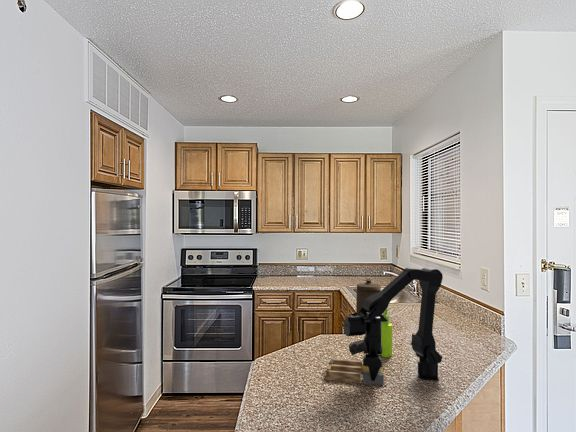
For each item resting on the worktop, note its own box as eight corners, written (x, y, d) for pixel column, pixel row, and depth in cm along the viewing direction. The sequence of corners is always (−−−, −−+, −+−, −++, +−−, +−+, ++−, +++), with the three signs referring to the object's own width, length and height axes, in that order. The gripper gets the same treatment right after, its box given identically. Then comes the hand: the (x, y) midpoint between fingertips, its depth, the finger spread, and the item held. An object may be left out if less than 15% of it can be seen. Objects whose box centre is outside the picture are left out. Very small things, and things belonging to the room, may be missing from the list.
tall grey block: (382, 381, 147) (382, 372, 147) (383, 384, 144) (383, 375, 144) (362, 380, 148) (362, 371, 148) (363, 383, 145) (363, 374, 145)
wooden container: (383, 317, 248) (383, 280, 248) (358, 316, 248) (358, 280, 248) (378, 311, 263) (378, 277, 263) (354, 311, 263) (354, 276, 263)
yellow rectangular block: (381, 371, 158) (381, 362, 158) (381, 374, 155) (381, 365, 155) (362, 369, 159) (362, 361, 159) (362, 372, 156) (362, 363, 156)
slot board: (362, 369, 159) (362, 360, 159) (360, 382, 146) (360, 373, 146) (331, 366, 162) (331, 357, 162) (326, 379, 148) (326, 370, 149)
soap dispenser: (379, 351, 181) (379, 305, 182) (394, 354, 177) (394, 307, 177) (373, 354, 177) (373, 307, 177) (388, 358, 172) (388, 309, 173)
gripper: (352, 326, 157) (352, 367, 157) (347, 340, 139) (347, 386, 139) (382, 328, 155) (382, 370, 154) (381, 342, 137) (381, 390, 136)
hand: (373, 378), depth 146 cm, fingers closed on tall grey block, 3 cm apart
